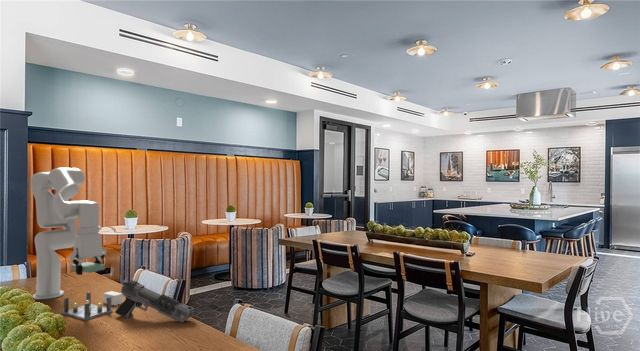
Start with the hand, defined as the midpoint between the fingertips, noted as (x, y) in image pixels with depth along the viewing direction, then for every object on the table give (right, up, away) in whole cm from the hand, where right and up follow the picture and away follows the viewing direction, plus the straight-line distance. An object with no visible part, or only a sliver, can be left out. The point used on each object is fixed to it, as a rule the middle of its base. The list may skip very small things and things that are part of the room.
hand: (88, 272), depth 169 cm
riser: (+4, -17, +13) cm, 22 cm away
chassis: (0, -17, 0) cm, 17 cm away
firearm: (+31, -18, -7) cm, 36 cm away
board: (0, +1, 0) cm, 1 cm away
